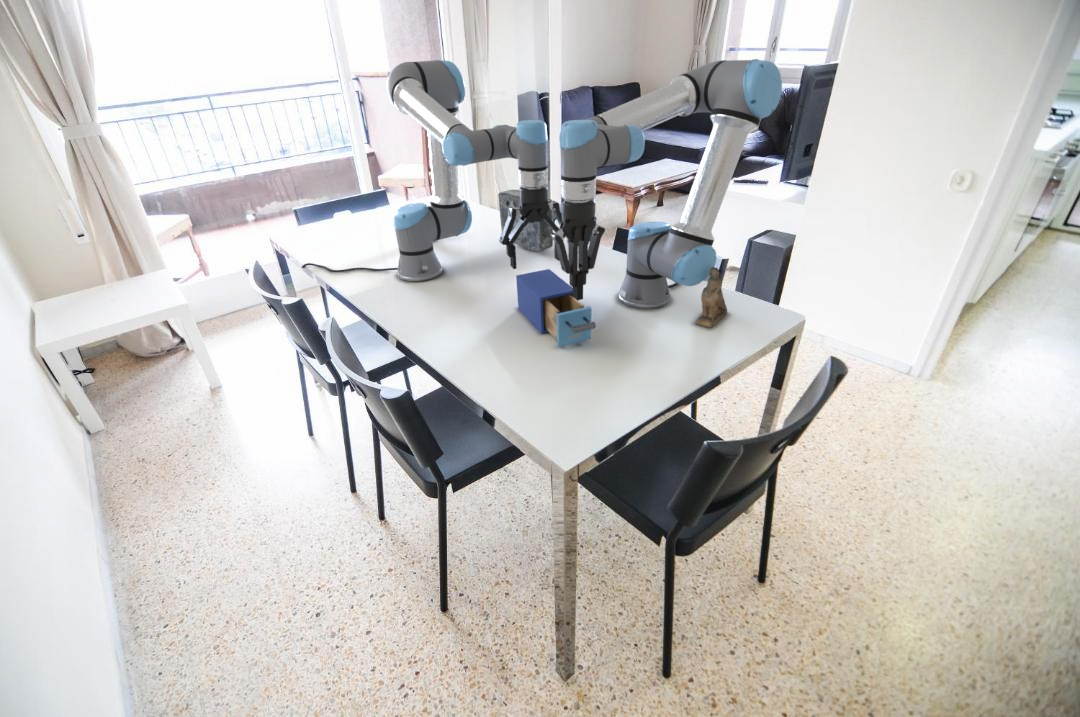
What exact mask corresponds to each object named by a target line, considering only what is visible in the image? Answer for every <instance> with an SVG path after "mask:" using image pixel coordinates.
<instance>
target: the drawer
mask: <svg viewBox="0 0 1080 717" xmlns="http://www.w3.org/2000/svg"><path fill="white" fill-rule="evenodd" d="M543 313H544V327H545V328H546V329H547V330H548V331H549V332H548V333H549V334H551V337H553V338H554V339H555V340H556V345H557V347H558V348H559V347H565V346H567V345H571V344H576V343H581V342H583V341H584V342H585V341H587V340H588V341H589V340H591V339H592V330H595V329H596V328H597V325H596V322H595V321H592V307H591V306H585V305H584V304H583V303H582V302H580V300H576V299H575V298H574V297H573V296H572V295H571V294H569V295H564V296H559V297H555V298H550V299H545V300H543Z"/></svg>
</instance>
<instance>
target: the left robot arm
mask: <svg viewBox="0 0 1080 717" xmlns="http://www.w3.org/2000/svg"><path fill="white" fill-rule="evenodd" d="M386 93H387V97H388V99H389V101H390V103H391V104H392V105H393V107H395V109H397V111H399V112H400V113H401V114H403V115H409V116H410V117H411V118H412V119H413V120H414V121H415V122H417V124H419V125H420V126H421V127H422V128H423V129H424V130H425V131H426V132H427V137H428V148H429V158H430V170H431V180H432V190H433V191H432V192H433V194H432V195H431V196H429V205H427V204H426V203H424V202H415V203H408V204H406V205H402V206H401V207H399V208H397V209H395V211H394V213H393V215H392V219H393V228H394V230H395V231H394V232H395V236H396V241H397V247H398V251H399V259H398V265H397V267H387V268H372V267H351V268H344V269H331V268H329V267H327V266H325V265H322V264H316V263H312V262H307V263H304V264H303V265H302V266H301V269H304V268H305V267H307V266H313V267H317V268H322V269H325V270H327V271H328V272H332V273H344V272H350V271H359V270H360V271H361V270H362V271H363V270H364V271H372V272H387V271H397V276H398V278H399V279H400V280H402V281H406V282H413V283H414V282H425V281H429V280H432V279H435V278H438V277H439V276H440V275H441V274H442V273H443V268H442V264H441V263H440V260H439V259H438V256H437V254H436V252H435V250H434V243H433V242H436V241H440V240H444V239H450V238H452V237H458V236H461V235H463V234H466V233H467V232H468V231H469V230H470V228H471V226H472V221H473V215H472V210H471V206H470V204H469V203H468V201H467V200H465V198H464V196H463V194H461V193H460V186H459V185H460V184H459V183H460V182H459V171H458V170H459V169H458V167H459V166H462V167H464V166H468V165H472V164H478V163H484V162H490V161H497V160H501V159H502V160H503V159H515V160H517V164H518V165H517V167H518V168H517V169H518V185H519V186H520V187H519V189H518V190H519V192H520V207H519V208H513V207H509V215H508V218H507V221H506V223H505V226H504V228H503V231H502V230H501V233H500V236H499V239H498V242H499V243H500V244H502V245H503V246H505V247H506V249H505V250H506V255H507V257H508V258H509V261H510V262H509V263H510V267H511V268H512V269H513V270H516V269H517V249H516V248H517V247H516V244H515V243H514V242H515V240H516V239H517V237H518V236H519V234H520V233H521V231H522V230H523V228H524V227H525V226H526V225H527V224H528V223H529V222H530V223H534V222H541V221H542V220H544V221H545V222H546V223H547V224H548V225H549V226H550V227H551V228H552V229H553V233H556V232H557V231H558V230H559V229H560V227H558V225H559V226H560V225H561V222H562V216H561V208H560V207H561V206H560V203H559V202H557V201H556V200H552V203H548V198H549V187H548V186H547V185H548V183H549V177H548V176H549V174H548V173H549V171H548V170H549V169H548V168H549V167H548V140H549V138H548V130H547V124H546V122H545V121H543V120H541V119H525V120H524V119H523V120H520V121H518V122H516V126H511V125H508V124H497V125H494V126H493V127H492V128H483V129H476V130H472V129H470V128H469V127H468V126H466V124H464V123H463V122H461V120H459V118H457V117H456V116H457V115H458V113H459V112H460V111H459V104H461V103H462V102H464V101H465V97H466V85H465V80H464V77H463V74H462V72H461V71H460V69H459V67H458V66H457V65H456V64H455V62H453V61H450V60H440V59H435V60H422V61H421V60H420V61H404V62H401V63H399V64H397V65H396V66H394V67H393V69H392V70H391V71H390V73H389V74H388V76H387V79H386ZM549 208H550V209H551V210H552V211H553V216H554V217H555V219H556V220H557V223H558V225H557V224H556V223H555V222H554V220H553V221H552V220H551V219H550V217H549V216H548V215H547V212H548V210H549ZM519 212H520V213H521V217H520V218H519V221H518V223H517V224H516V226H515V227H514V229H513V230H512V227H513V225H514V222H515V219H516V216H518V213H519ZM511 230H512V232H511ZM510 232H511V233H510ZM563 237H564V239H565V238H566V236H565V235H564V234H563ZM553 248H554V249H553V250H554V253H553V254H554V259H555V260H556V261H559V262H560V260H559V256H558V252H557V248H556V244H555V242H554V241H553Z"/></svg>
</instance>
